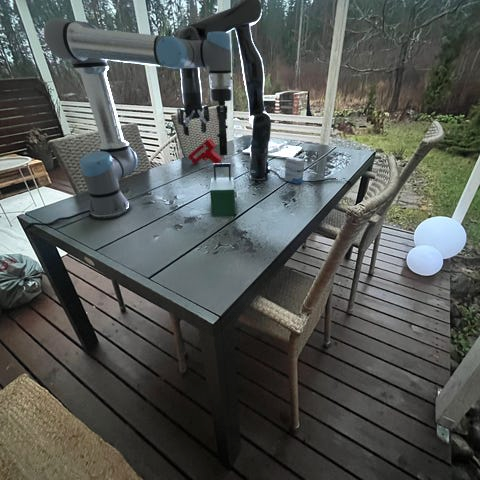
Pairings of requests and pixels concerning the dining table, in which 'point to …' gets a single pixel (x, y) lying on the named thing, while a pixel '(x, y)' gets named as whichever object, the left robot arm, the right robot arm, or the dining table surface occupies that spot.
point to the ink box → (294, 170)
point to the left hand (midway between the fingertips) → (223, 150)
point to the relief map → (280, 150)
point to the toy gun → (205, 153)
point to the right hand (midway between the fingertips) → (195, 134)
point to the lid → (222, 181)
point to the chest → (222, 204)
